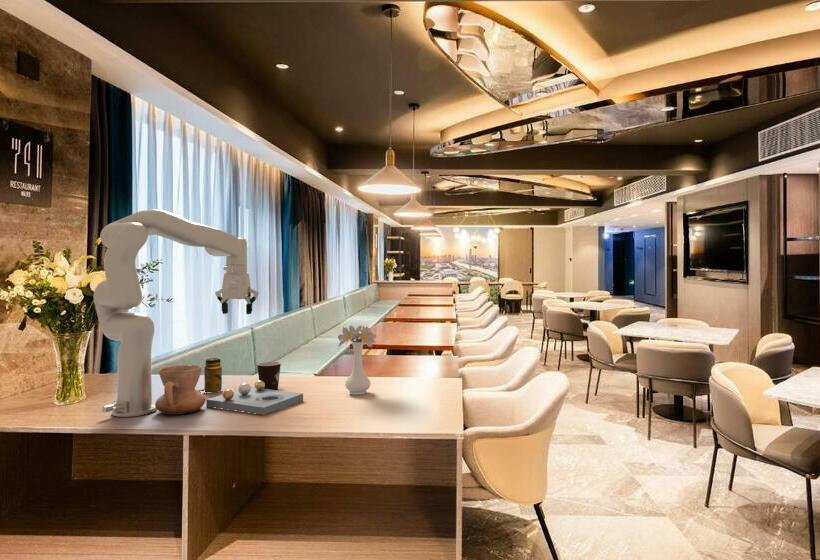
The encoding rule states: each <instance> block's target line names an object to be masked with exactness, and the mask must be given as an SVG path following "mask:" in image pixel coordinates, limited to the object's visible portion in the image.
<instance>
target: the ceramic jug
mask: <svg viewBox="0 0 820 560" xmlns="http://www.w3.org/2000/svg"><path fill="white" fill-rule="evenodd" d="M158 372H159V377H160V381H161V382H162V385H163V386H164V388H163V392H164V393H163V394H162V395H161V396H159V398H157V399H156V400H155V403H154V404H155V406H156V409H157V410H156V411H159V412H160V413H163V414H166V415H185V413H186V414H190V413H194V412H196V411H198V410H200V409H201V408H202V407H203V406H204V405H205V403H206V398H205V394H201V393H200V392H198V391H197V390H198V389H196V386H197V384H198V382H199V379H200V376H201V373H202V366H201V365H199V364H194V363H193V364H191V365H189V364H186V363H184V364H174V365H169V366H164V367H162V368H160V369H159V370H158Z"/></svg>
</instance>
